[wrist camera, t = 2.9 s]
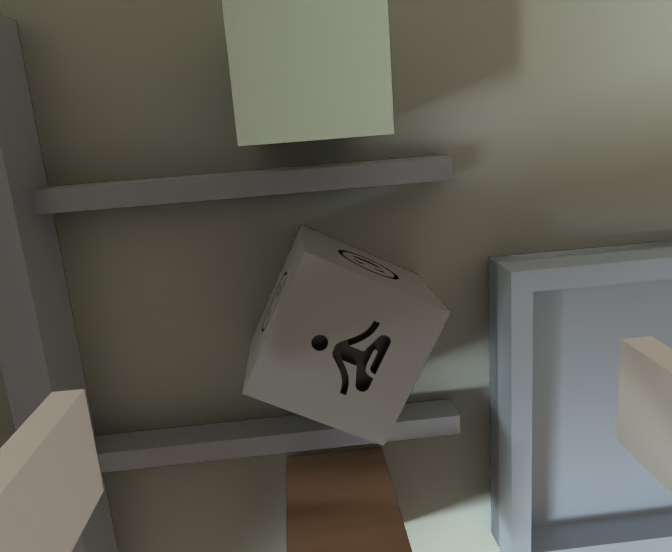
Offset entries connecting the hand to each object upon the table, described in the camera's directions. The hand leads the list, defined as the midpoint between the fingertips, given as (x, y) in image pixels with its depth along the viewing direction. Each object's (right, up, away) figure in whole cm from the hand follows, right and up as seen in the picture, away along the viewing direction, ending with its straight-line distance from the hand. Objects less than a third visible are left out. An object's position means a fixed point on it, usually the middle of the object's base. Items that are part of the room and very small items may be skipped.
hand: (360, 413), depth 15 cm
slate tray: (+12, -1, +11) cm, 16 cm away
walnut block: (0, -6, +11) cm, 13 cm away
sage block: (-2, +10, +7) cm, 13 cm away
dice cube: (-1, +2, +9) cm, 10 cm away
